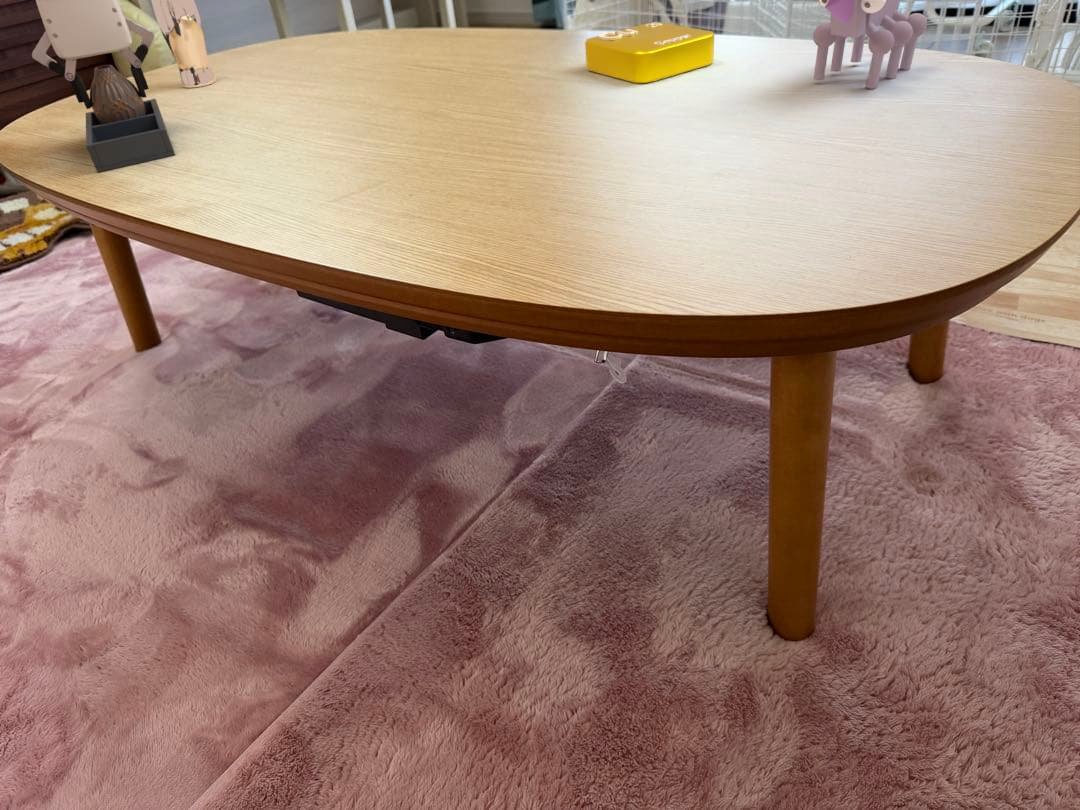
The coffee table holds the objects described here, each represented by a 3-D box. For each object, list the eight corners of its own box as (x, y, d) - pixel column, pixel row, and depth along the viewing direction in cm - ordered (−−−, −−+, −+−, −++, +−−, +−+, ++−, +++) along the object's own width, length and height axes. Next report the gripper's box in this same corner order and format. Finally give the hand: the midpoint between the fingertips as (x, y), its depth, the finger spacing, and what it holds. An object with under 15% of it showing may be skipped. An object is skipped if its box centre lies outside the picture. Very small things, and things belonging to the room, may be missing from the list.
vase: (156, 127, 118) (133, 65, 113) (107, 139, 116) (81, 76, 110) (146, 118, 123) (123, 58, 118) (99, 130, 120) (73, 68, 115)
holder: (97, 172, 108) (86, 146, 106) (95, 136, 123) (85, 112, 120) (175, 155, 111) (165, 128, 109) (164, 122, 126) (155, 98, 123)
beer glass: (178, 83, 146) (147, -8, 138) (217, 75, 148) (189, -15, 139) (181, 91, 141) (148, -3, 132) (221, 83, 143) (192, -11, 134)
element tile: (641, 85, 116) (641, 50, 113) (581, 69, 126) (579, 36, 124) (719, 62, 122) (720, 28, 119) (655, 49, 132) (655, 17, 129)
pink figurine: (852, 109, 99) (867, -14, 90) (774, 98, 105) (783, -17, 97) (924, 68, 109) (944, -45, 101) (850, 60, 116) (863, -47, 108)
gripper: (129, -49, 112) (175, 83, 123) (-8, -29, 107) (53, 108, 117) (132, -45, 106) (180, 94, 117) (-13, -23, 101) (51, 120, 112)
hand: (116, 100), depth 117 cm, fingers closed on vase, 6 cm apart
